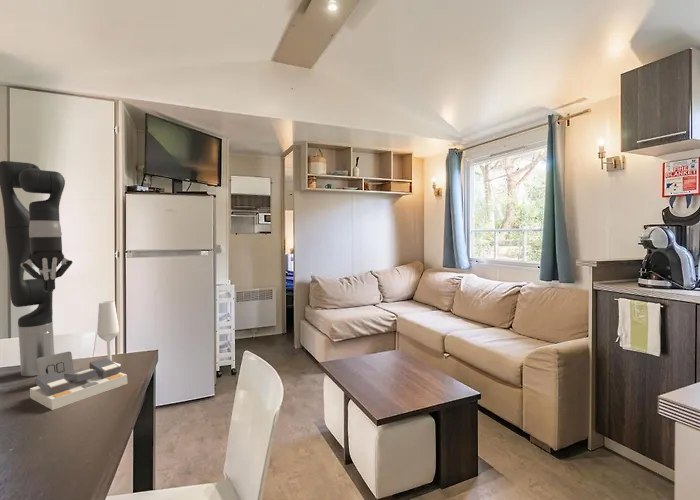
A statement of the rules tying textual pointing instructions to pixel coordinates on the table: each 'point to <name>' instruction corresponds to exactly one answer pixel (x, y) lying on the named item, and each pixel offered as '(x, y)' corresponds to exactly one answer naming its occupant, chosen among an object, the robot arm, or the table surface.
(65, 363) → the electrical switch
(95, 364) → the block
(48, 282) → the robot arm
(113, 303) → the champagne flute
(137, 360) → the table surface
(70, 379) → the rocker middle
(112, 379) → the switch panel
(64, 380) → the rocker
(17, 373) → the table surface
